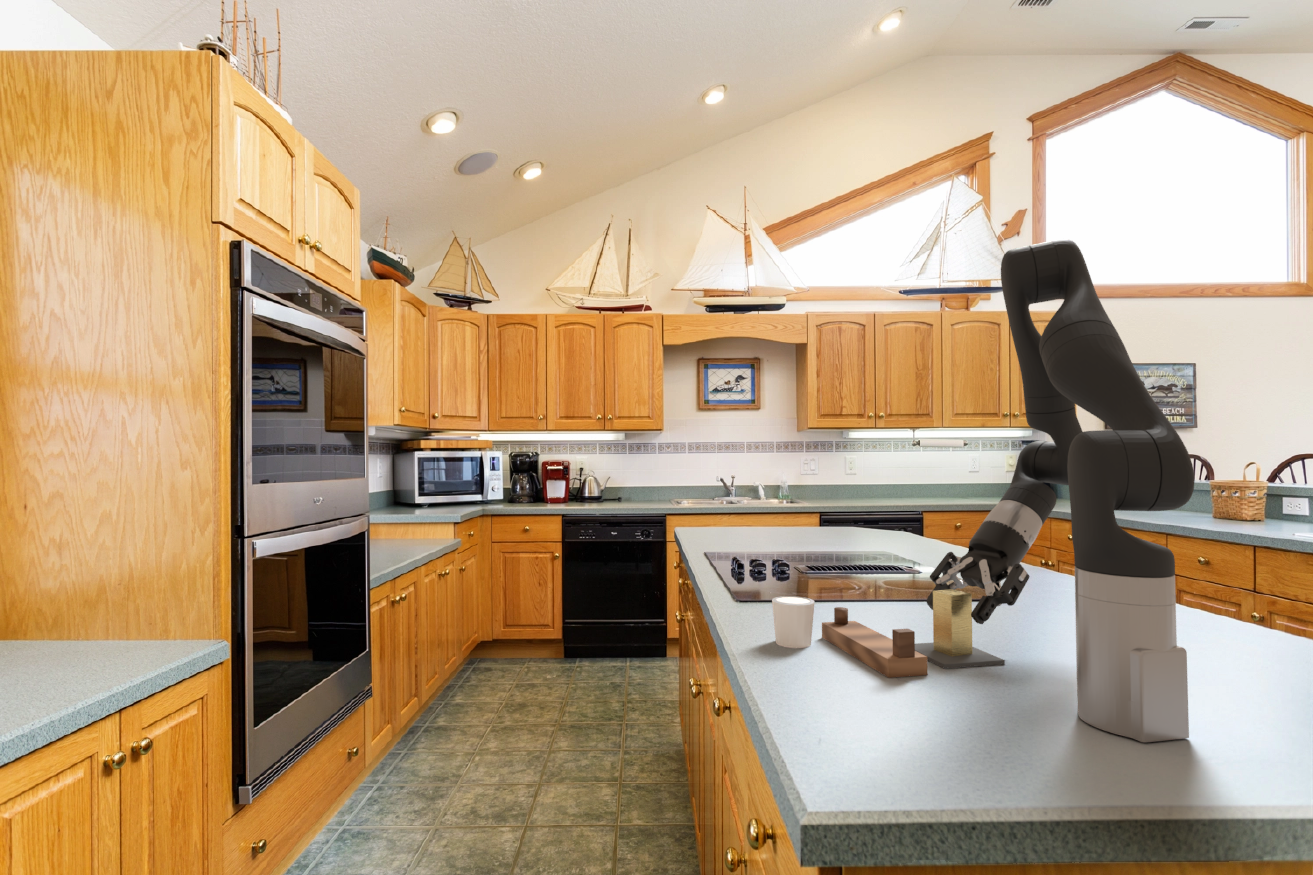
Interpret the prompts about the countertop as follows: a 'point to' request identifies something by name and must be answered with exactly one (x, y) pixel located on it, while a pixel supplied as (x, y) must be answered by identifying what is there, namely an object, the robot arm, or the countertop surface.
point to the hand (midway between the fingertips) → (952, 613)
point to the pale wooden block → (952, 622)
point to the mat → (957, 657)
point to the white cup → (793, 621)
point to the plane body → (876, 646)
